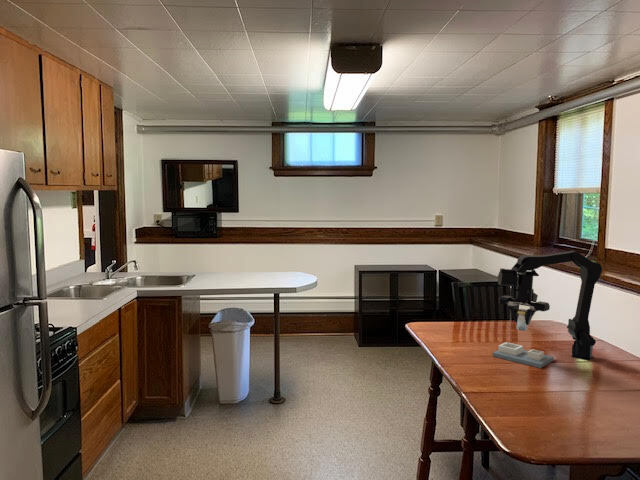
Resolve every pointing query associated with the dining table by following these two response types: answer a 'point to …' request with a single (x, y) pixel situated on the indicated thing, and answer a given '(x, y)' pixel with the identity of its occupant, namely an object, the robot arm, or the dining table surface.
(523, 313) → the gold capped canister
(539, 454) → the dining table surface
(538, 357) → the board
